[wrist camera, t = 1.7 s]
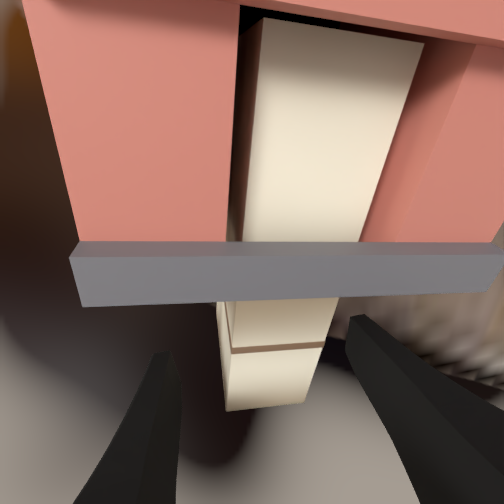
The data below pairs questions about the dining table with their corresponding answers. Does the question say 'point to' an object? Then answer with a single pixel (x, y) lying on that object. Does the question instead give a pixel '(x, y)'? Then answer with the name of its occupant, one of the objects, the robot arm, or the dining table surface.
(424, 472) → the robot arm
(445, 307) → the dining table surface
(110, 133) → the dispenser
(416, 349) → the dining table surface
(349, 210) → the cream block
